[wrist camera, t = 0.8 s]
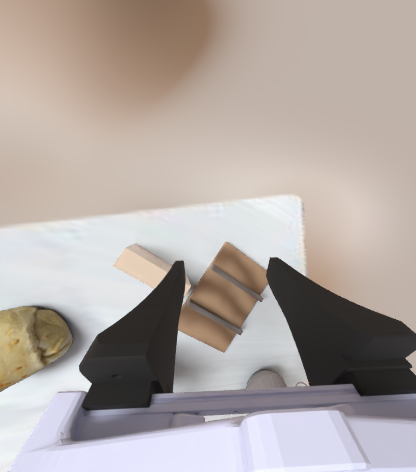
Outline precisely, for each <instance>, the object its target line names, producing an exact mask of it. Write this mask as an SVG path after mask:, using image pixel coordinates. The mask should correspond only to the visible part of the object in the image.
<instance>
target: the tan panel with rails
mask: <svg viewBox="0 0 416 472" xmlns="http://www.w3.org/2000/svg"><path fill="white" fill-rule="evenodd" d="M266 273H267V271H266V270H265V269H263V268H262V267H261V266H259V265H258V264H256V263H255V262H254V261H252V260H251V259H250V258H248V257H247V256H246V255H244V254H243V253H241V252H240V251H239V250H237V249H236V248H235V247H233V246H232V245H231V244H229V243H228V242H225V244H224V245H223V247H222V248H221V250H220V251H219V253H218V254H217V256H216V257H215V259H214V260H213V262H212V263H211V265H210V266H209V268H208V269H207V271H206V272H205V274H204V275H203V277H202V278H201V279H200V281H199V282H198V284H197V285H196V287H195V288H194V290H193V291H192V293H191V294H190V296H189V297H188V299H187V300H186V302H185V303H184V305H183V306H182V308H181V313H180V318H179V325H178V330H179V331H181V332H183V333H185V334H187V335H189V336H191V337H193V338H195V339H197V340H199V341H201V342H203V343H205V344H207V345H209V346H211V347H213V348H215V349H217V350H220V351H222V352H225V351H226V349H227V347H228V346H229V344H230V343H231V341H232V339H233V338H234V336H235V335H236V333H237V334H239V335H241V334H242V332H243V331H242V329H241V328H240V326H241V325H242V323H243V322H244V320H245V318H246V317H247V315H248V314H249V312H250V310H251V309H252V307H253V306H254V304H255V302H256V301H257V300H259V301H260V302H262V300H263V298H262V297H261V296H260V294H261V293H262V291H263V290H264V288H265V286H266V285H267V283H268V281H267V278H266Z"/></svg>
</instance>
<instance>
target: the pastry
mask: <svg viewBox="0 0 416 472" xmlns="http://www.w3.org/2000/svg"><path fill="white" fill-rule="evenodd" d="M72 341H73V338H72V334H71V332H70V330H69V327H68V325H67V324H66V322H65V320H64V318H62V317H61V316H59V315H58V314H57V313H56V312H55V311H53V310H51V309H47V310H46V309H43V308H42V309H39V308H37V307H30V306H23V307H18V308H14V309H8V310H2V311H0V392H1V391H3V390H4V389H6V388H8V387H9V386H12V385H14V384H16V383H18V382H20V381H22V380H23V379H25V378H27V377H29V376H31V375H32V374H34V373H36V372H38V371H39V370H41V369H43V368H44V367H46V366H47V365H48V364H50V363H53V362H54V361H56V360H57V359H59V358H60V357H62V356H63V355H64V354H65V353H66V352H67V351H68V349H69V348H70V346H71V344H72Z"/></svg>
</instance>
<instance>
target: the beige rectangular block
mask: <svg viewBox="0 0 416 472" xmlns="http://www.w3.org/2000/svg"><path fill="white" fill-rule="evenodd" d="M113 266H114V267H116V268H118V269H119V270H121V271H123V272H125V273H127V274H129V275H130V276H132V277H134V278H136V279H138V280H140V281H141V282H143V283H145V284H147V285H149V286H151V287H152V288H154V289H155V288H156V287H157V285H158V284H159V283H160V282H161V281H162V280H163V278H164V277H165V276H166V274H167V273H168V272H169V270H170V269H171V267H172V266H171V265H169V264H167V263H166V262H164V261H163V260H161V259H159V258H158V257H156V256H154V255H153V254H151V253H149V252H148V251H146V250H144V249H143V248H141V247H140V246H138V245H136V244H133V245H131V246H129V247H127V248H125V250H124V251H123V253H122V254H121V255H120V257H119V258H118V259H117V261H116V262H115V263H114V265H113ZM185 276H186V284H185V293H184V296H185V295H186V293H187V292H188V290H189V289H190V287H191V285H190V282H189V278H188V276H187V275H186V274H185Z"/></svg>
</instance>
